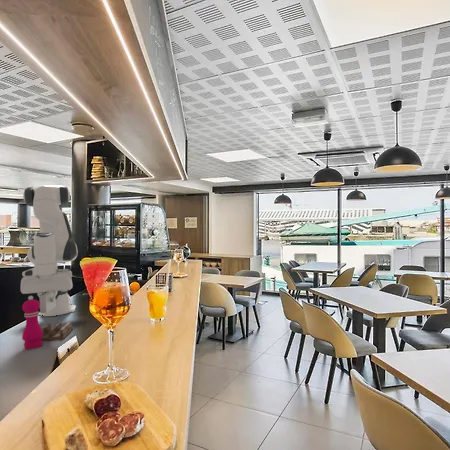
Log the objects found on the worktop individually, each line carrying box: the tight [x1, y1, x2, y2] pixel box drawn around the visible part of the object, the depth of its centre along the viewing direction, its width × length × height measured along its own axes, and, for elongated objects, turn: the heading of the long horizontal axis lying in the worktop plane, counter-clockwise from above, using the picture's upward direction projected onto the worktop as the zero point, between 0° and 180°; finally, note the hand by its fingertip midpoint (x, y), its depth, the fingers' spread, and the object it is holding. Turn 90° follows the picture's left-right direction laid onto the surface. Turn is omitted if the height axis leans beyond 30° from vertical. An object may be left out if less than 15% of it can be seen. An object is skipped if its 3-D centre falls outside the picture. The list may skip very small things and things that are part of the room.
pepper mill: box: [21, 295, 43, 350], centre depth 135 cm, size 7×7×20 cm
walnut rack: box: [40, 321, 74, 342], centre depth 148 cm, size 14×15×4 cm
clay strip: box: [38, 292, 56, 313], centre depth 148 cm, size 12×2×7 cm, turn 9°
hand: (48, 302), depth 148 cm, fingers closed on clay strip, 2 cm apart
